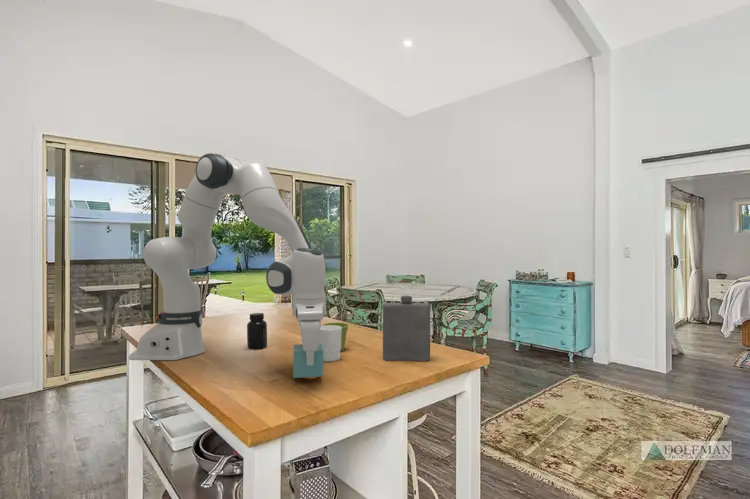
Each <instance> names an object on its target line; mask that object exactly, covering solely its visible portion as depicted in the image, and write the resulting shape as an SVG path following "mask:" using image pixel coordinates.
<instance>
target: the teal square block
mask: <svg viewBox="0 0 750 499" xmlns="http://www.w3.org/2000/svg"><path fill="white" fill-rule="evenodd" d="M292 354H293V359H292V361H293V368H292V369H293V371H292V372H293V373H292V376H293V377H292V378H293V379H296V378H297V379H300V378H301V379H302V378H305V377H316V378H317V377H318V378H319V377H324V376H323V375H324V361H323V348H322V344H319V346H318V350H317V351H314V364H313V365H307V359H306V351H304V350H303V345H302V343H301V344H293V353H292Z"/></svg>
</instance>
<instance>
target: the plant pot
mask: <svg viewBox="0 0 750 499" xmlns="http://www.w3.org/2000/svg"><path fill="white" fill-rule="evenodd" d="M325 325H336V326H341V327H342V335H341V350H340V352H341V351H342V352H343V351H345V347H346V339H347V334H348V328H349V326H350V324H349V323H345V322H328V323H323V324H321V326H325Z"/></svg>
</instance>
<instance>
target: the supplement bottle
mask: <svg viewBox="0 0 750 499" xmlns="http://www.w3.org/2000/svg"><path fill="white" fill-rule="evenodd" d="M264 319H265V313H264V312H254V313H249V320H250V321H248V323H247V325H246V334H247V335H246V336H247V337H246V340H247V341H246V342H247V345H246V346H247V348H248V349H249V350H253V351H254V350H263V349H265V348H267V347H268V324H267V322H266V320H264Z"/></svg>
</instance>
